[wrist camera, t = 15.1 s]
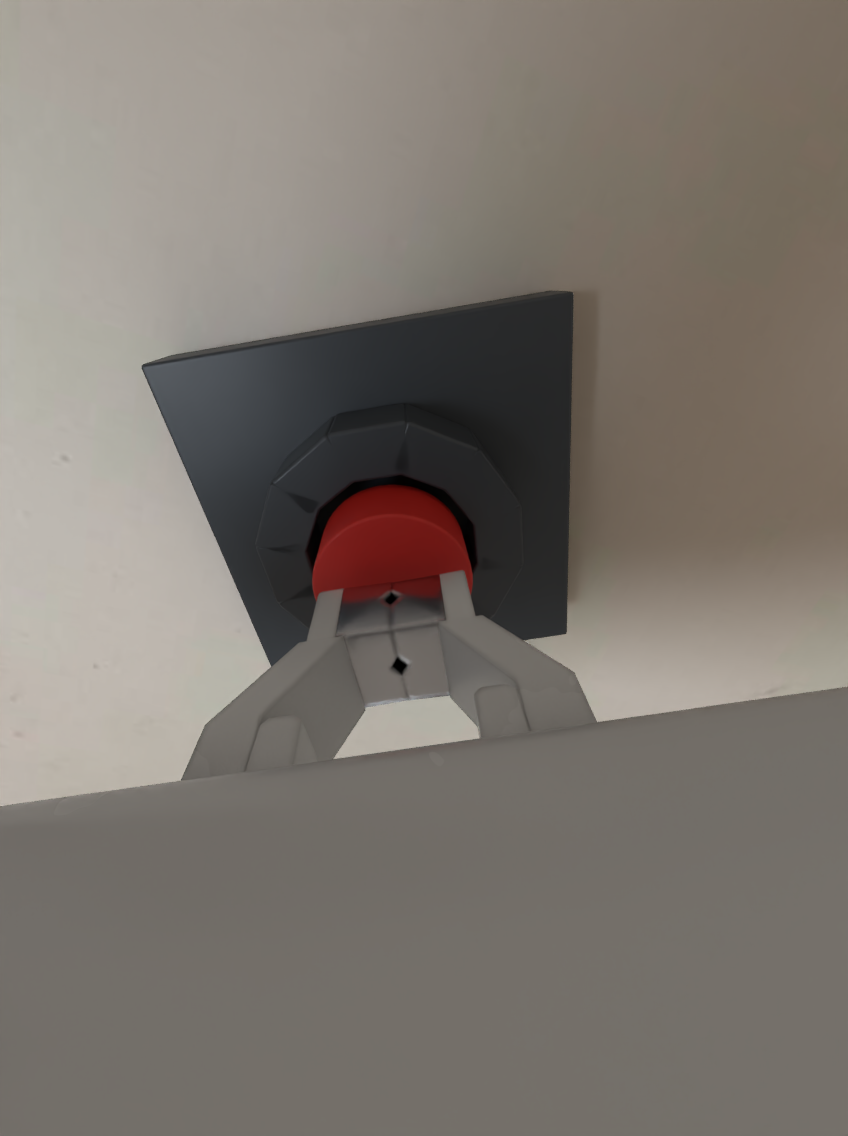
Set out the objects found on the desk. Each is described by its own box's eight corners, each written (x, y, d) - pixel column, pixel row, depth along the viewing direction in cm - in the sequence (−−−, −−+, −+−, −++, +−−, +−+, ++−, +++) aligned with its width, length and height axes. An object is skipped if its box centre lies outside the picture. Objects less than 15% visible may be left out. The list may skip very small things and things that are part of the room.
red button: (304, 496, 11) (291, 529, 10) (455, 472, 11) (464, 502, 9) (341, 615, 13) (334, 658, 11) (469, 596, 13) (479, 637, 11)
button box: (169, 355, 12) (95, 379, 9) (552, 290, 12) (606, 292, 9) (285, 645, 17) (262, 720, 14) (552, 604, 17) (586, 672, 14)
